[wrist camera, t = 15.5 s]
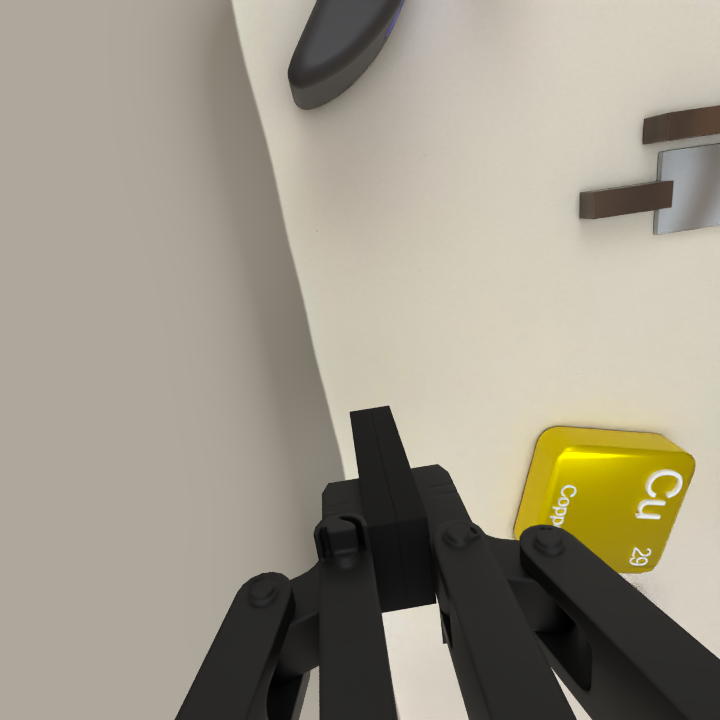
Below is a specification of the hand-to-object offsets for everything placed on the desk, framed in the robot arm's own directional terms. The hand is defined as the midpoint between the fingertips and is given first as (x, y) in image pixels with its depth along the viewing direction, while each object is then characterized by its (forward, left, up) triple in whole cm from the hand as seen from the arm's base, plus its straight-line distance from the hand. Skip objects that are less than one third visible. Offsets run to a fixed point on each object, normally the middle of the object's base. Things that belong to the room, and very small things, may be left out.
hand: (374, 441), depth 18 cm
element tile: (+34, -5, -27) cm, 43 cm away
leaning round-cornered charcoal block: (-11, +20, -27) cm, 35 cm away
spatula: (+20, +23, -26) cm, 40 cm away
